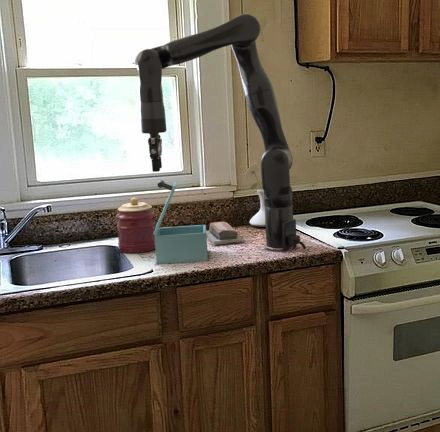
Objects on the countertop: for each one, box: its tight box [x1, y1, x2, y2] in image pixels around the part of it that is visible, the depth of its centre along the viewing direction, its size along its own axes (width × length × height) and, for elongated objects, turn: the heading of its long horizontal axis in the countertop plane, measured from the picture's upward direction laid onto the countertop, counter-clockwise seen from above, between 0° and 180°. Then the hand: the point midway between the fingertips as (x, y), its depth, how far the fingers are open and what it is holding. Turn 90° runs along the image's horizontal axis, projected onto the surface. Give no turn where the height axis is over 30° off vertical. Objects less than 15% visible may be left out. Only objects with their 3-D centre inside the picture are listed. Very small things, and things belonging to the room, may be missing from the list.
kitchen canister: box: [115, 197, 157, 254], centre depth 216 cm, size 13×13×18 cm
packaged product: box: [206, 221, 243, 246], centre depth 226 cm, size 18×5×10 cm
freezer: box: [154, 224, 208, 265], centre depth 203 cm, size 16×13×9 cm
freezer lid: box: [153, 179, 179, 235], centre depth 200 cm, size 16×13×5 cm
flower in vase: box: [243, 161, 266, 228], centre depth 243 cm, size 13×11×25 cm
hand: (157, 169), depth 198 cm, fingers open, 8 cm apart
